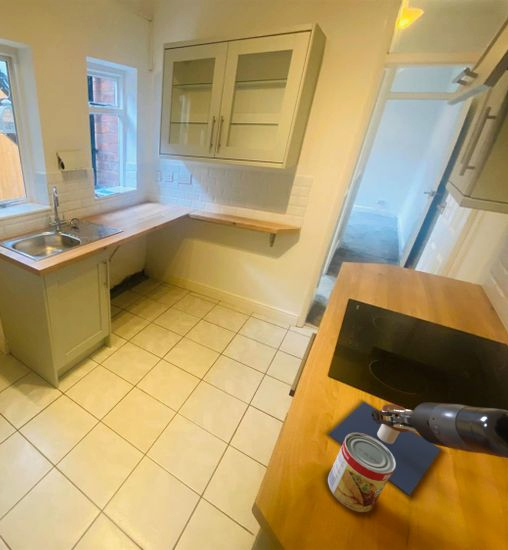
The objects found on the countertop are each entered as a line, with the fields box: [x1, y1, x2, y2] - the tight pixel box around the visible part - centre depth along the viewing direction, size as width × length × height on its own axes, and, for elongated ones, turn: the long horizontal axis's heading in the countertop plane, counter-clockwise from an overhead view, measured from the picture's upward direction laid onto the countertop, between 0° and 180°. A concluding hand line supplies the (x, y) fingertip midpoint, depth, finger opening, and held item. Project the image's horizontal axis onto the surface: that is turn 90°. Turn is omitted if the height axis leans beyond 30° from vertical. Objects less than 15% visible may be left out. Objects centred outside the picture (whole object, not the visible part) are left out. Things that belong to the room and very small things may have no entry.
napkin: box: [328, 401, 442, 496], centre depth 71 cm, size 18×16×1 cm
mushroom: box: [377, 403, 409, 444], centre depth 68 cm, size 6×6×8 cm
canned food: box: [327, 433, 396, 513], centre depth 58 cm, size 8×8×12 cm
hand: (388, 417), depth 70 cm, fingers closed on mushroom, 5 cm apart
